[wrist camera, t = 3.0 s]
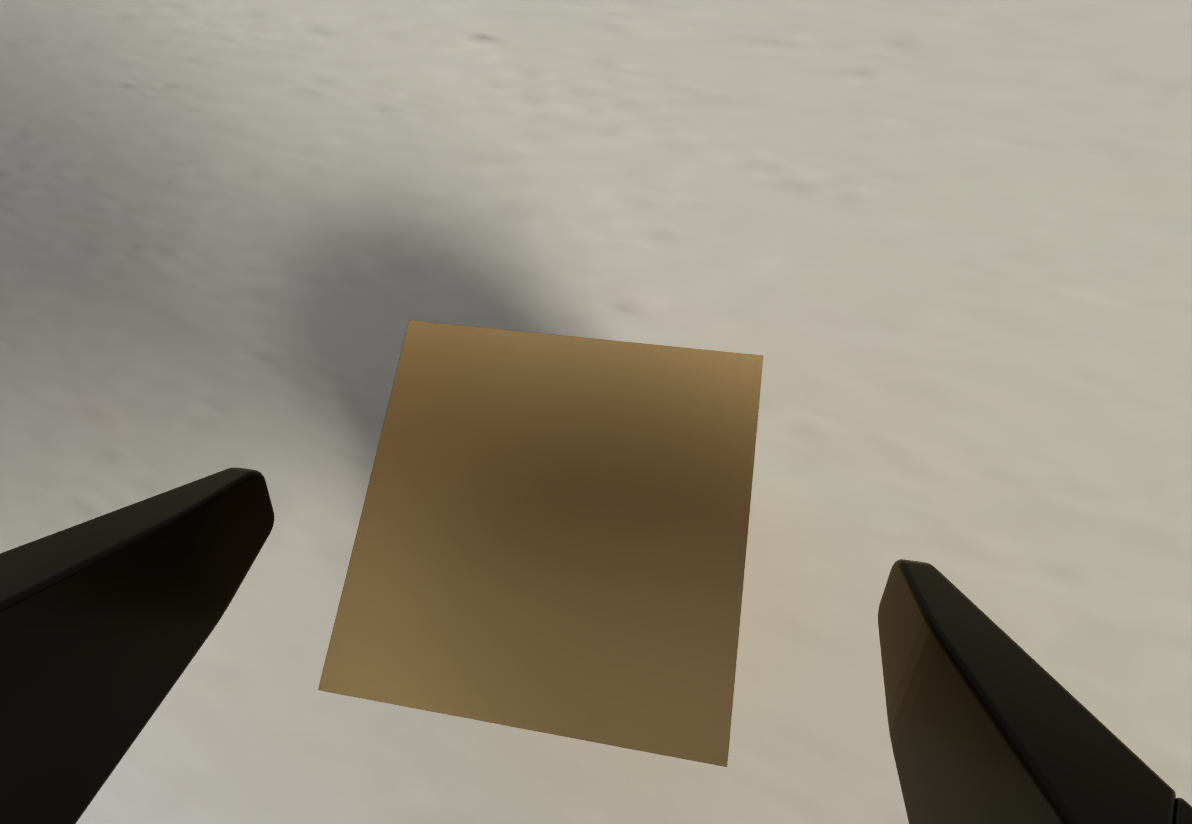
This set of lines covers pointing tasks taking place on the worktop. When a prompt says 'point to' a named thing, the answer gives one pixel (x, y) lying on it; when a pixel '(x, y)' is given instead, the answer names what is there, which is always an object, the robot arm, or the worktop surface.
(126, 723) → the robot arm
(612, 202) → the worktop surface
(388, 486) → the oak block
